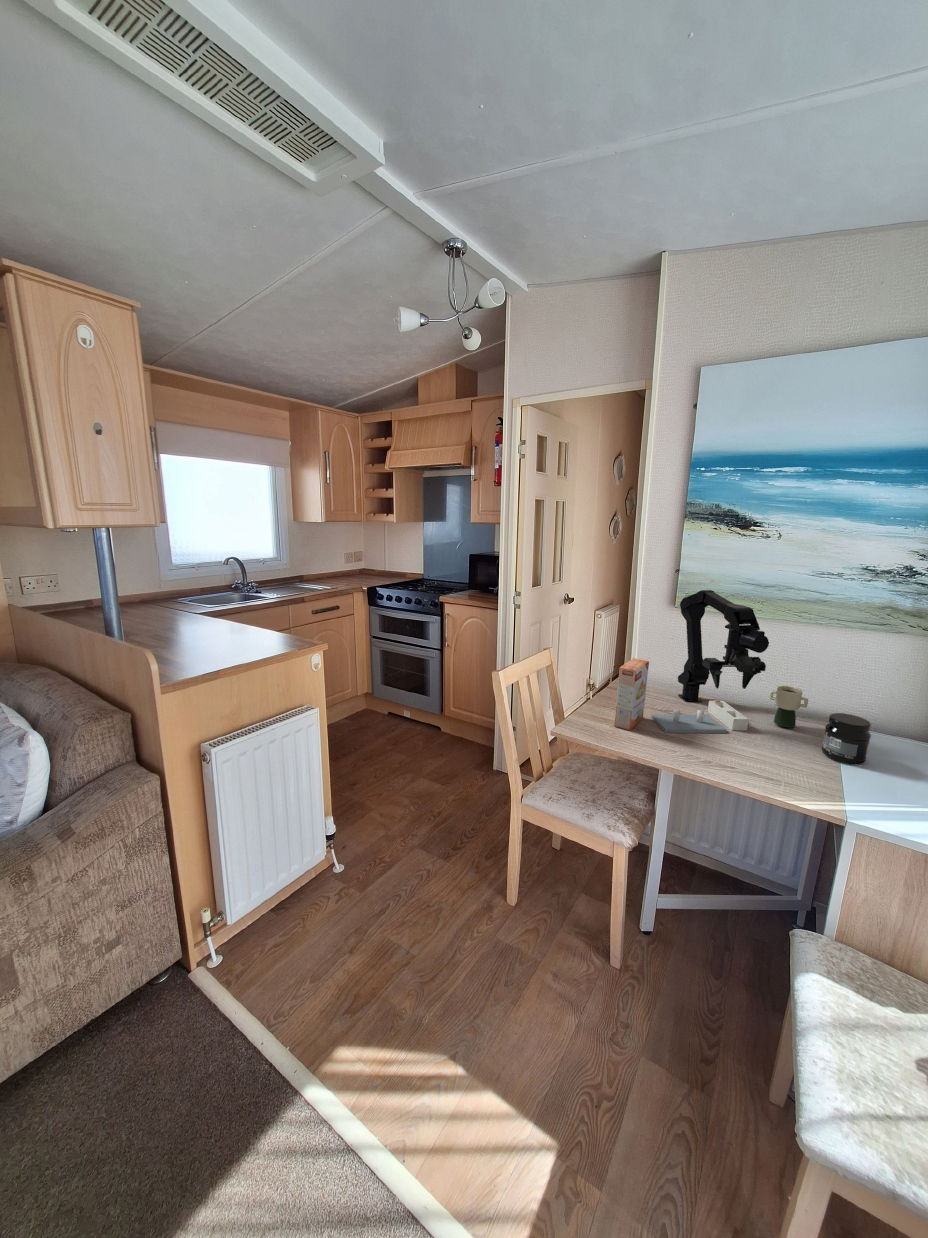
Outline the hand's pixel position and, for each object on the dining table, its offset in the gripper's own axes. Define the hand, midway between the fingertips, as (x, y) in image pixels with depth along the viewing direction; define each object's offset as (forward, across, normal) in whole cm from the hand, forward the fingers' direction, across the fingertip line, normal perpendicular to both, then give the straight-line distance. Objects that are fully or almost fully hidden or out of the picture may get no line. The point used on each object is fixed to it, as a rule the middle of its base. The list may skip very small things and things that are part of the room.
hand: (730, 688), depth 167 cm
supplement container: (+12, +21, -26) cm, 35 cm away
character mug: (+12, +18, -4) cm, 22 cm away
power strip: (+12, 0, 0) cm, 12 cm away
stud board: (+12, -15, -4) cm, 20 cm away
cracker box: (+12, -34, -2) cm, 36 cm away
